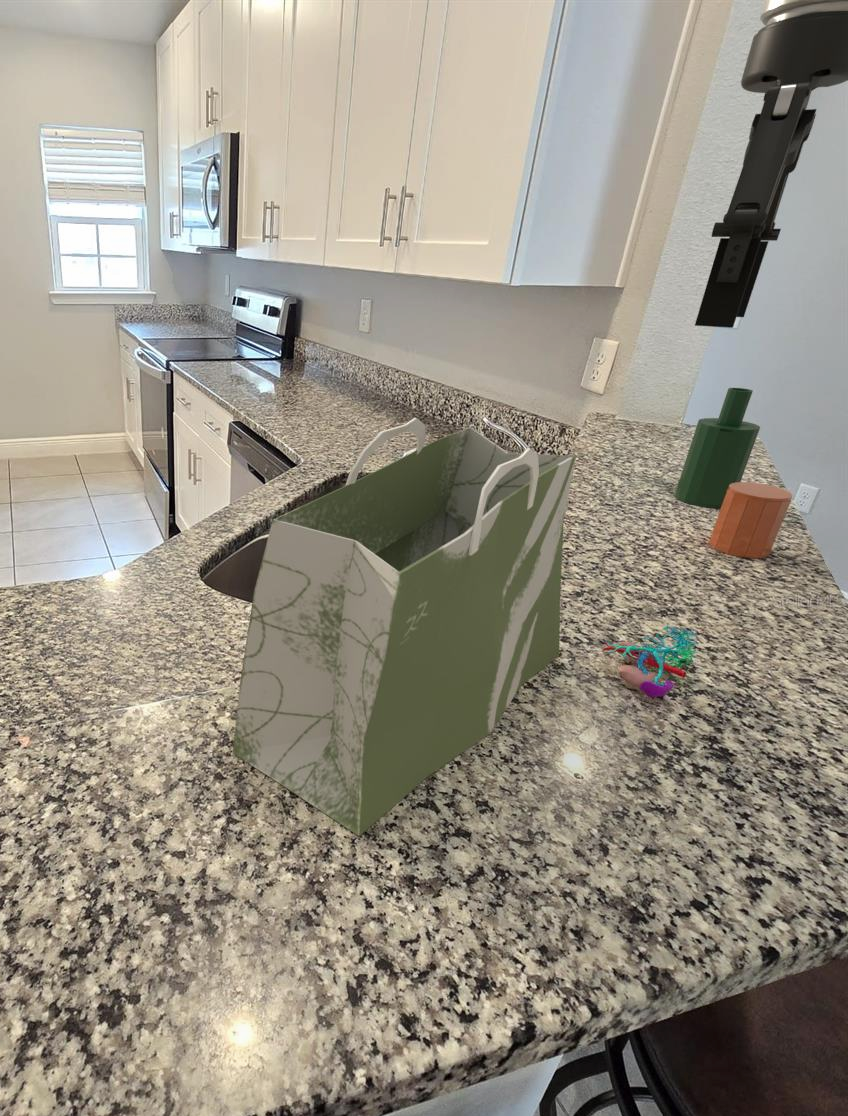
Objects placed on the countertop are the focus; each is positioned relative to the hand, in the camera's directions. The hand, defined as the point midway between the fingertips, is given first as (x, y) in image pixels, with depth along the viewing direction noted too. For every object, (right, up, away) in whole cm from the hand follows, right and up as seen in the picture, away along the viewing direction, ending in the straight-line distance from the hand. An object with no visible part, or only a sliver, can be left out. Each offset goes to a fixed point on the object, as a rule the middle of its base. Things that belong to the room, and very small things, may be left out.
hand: (720, 321), depth 61 cm
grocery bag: (-29, -34, -3) cm, 45 cm away
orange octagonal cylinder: (+22, -18, +28) cm, 40 cm away
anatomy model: (-7, -33, +1) cm, 33 cm away
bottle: (+29, -9, +45) cm, 55 cm away
